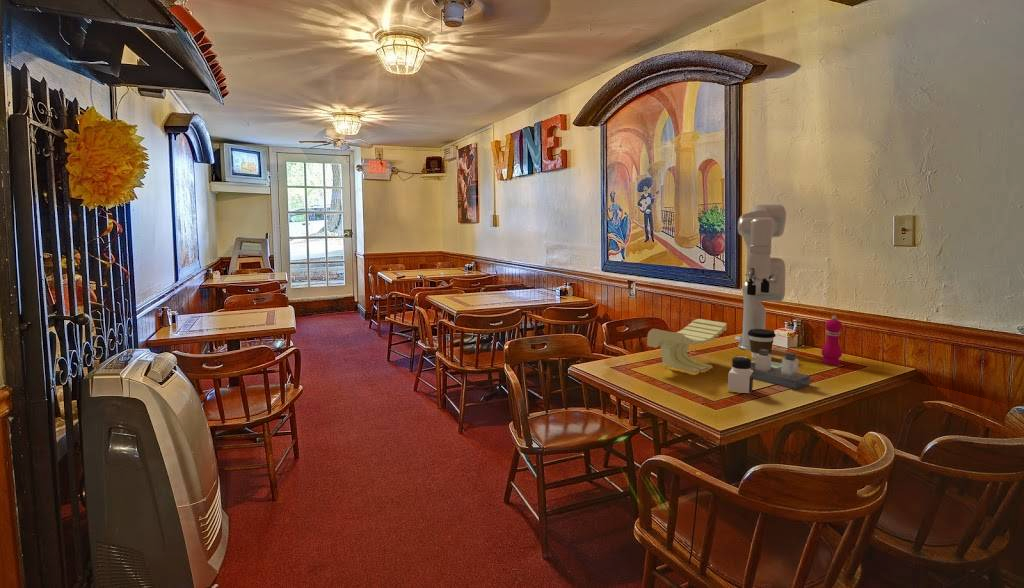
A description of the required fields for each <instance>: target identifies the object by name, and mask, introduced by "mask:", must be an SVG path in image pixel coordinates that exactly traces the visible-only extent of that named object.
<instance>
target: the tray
mask: <svg viewBox="0 0 1024 588" xmlns="http://www.w3.org/2000/svg"><path fill="white" fill-rule="evenodd" d="M751 363H755V360H751ZM781 366H782V362H776V361H772V360H771V367H774V368H778V369H781Z"/></svg>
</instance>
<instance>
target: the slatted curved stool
mask: <svg viewBox="0 0 1024 588" xmlns="http://www.w3.org/2000/svg"><path fill="white" fill-rule="evenodd" d="M727 329H728V323H726V322H722V321H715V320H714V321H713V320H710V319H702V318H696V319H694V320H692V321H691V322H690V323H689V324H687V325H686V326H685V327H684V328H682V329H680V330H679V331H676V332H674V331H673V332H672V331H668V330H665V329H658V328H651V329H650V330H648V333H647V336H646V337H647V342H646V343H647V344H646V345H647V346H646V347H650V348H655V349H657V348H658V347H660V351H661V352H660V353H661V361H662V364H663V366H664V365H666V366H670V367H674V368H678V369H682V370H685V371H688V372H692V373H697V372H700V371H705V370H707V369H710V370H712V369H713V365H712V364H706V363H704V362H700V361H698V360H695V359H693V358H691V357H690V356H689V355H688V348H689V346H690V345H692V346H697V345H701V344H704V343H708V342H712V341H715V338H718V337H719V335H721V334H723V333H724V332H725V331H727ZM723 331H724V332H723ZM711 368H712V369H711Z"/></svg>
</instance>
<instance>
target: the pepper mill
mask: <svg viewBox="0 0 1024 588" xmlns="http://www.w3.org/2000/svg"><path fill="white" fill-rule="evenodd" d="M824 328H825V329H826V330H825V332H826V333H825V335H826V341H825V343H824V345H823V347H822V349H821V355H822V356H823V357H822V358H821V360H822V361H821V362H822V364H823V363H824V365H826V364H829V365H828V366H839V365H840V364H841V360H840V358H841V357H842V356H843V352H842V351H843V350H842V349H841V346H840V344H839V337H840V336H841V330H842V328H843V324H842V322H841V321H840V320H838V319H837V316H836V315H832V316H831V319H829V320H827V321H826V322H825V323H824Z"/></svg>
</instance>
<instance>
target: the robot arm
mask: <svg viewBox="0 0 1024 588" xmlns="http://www.w3.org/2000/svg"><path fill="white" fill-rule="evenodd" d="M786 220H787V211H786V207H784V206H783V205H781V204H758V205H754V206H753V207H752V208H751V209H750V210H749V212H747V213H743V214H742V215H740V217H739V218H738V222H737V233H738V235H740V236H741V237H742V238H743V241H744V243H745V247H746V253H747V254H746V274H745V281H744V282H743V284H742V287H741V288H742V289H741V290H742V298H743V300H742V302H743V313H742V336H738V335H736V336H735V337H734V341H735V342H738V345H737V347H738V348H739V349H742V350H745V351H751V349H750V341H749V338H750V337H749V335H748V332H749V330H751V329H765V330H766V324H767V323H766V321H767V310H766V308H765V306H764V305H763V304H762V302H781V301H783V300H784V299H785V294H786V263H785V260H784V259H782V258H781V257H771V254H772V238H780V237H782V235H783V234H784V233H785V226H786Z"/></svg>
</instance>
